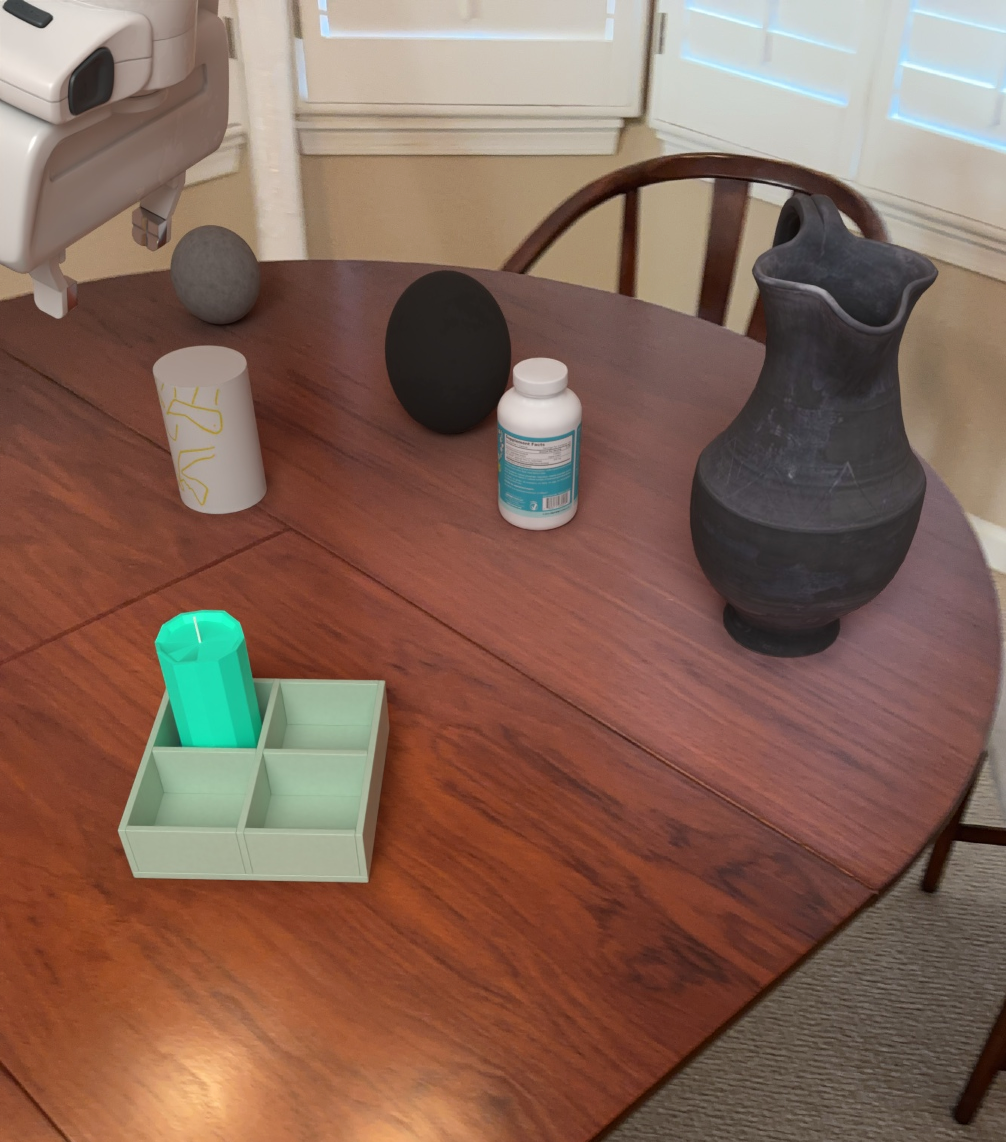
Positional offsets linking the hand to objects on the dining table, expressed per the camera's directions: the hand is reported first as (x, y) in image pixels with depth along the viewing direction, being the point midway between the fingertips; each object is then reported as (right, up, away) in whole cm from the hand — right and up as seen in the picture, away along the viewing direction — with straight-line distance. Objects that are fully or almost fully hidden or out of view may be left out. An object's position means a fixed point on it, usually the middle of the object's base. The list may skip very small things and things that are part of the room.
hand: (105, 274), depth 69 cm
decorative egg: (+18, +12, +53) cm, 57 cm away
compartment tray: (+6, -29, +16) cm, 34 cm away
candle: (+3, -26, +18) cm, 32 cm away
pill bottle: (+26, 0, +42) cm, 49 cm away
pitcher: (+46, -12, +32) cm, 57 cm away
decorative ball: (-10, +31, +70) cm, 77 cm away
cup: (-4, +2, +44) cm, 45 cm away
